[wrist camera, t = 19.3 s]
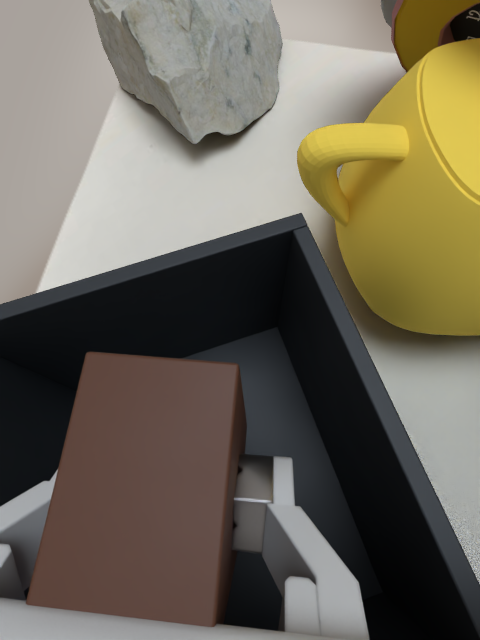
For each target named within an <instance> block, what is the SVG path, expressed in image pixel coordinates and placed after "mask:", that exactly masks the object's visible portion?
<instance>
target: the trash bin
mask: <svg viewBox="0 0 480 640" xmlns="http://www.w3.org/2000/svg"><path fill="white" fill-rule="evenodd" d="M87 352H101V353H114V354H127V355H139V356H152V357H165V358H178V359H191V360H203V361H216V362H229V363H237V364H239V367H240V375H241V382H242V390H243V397H244V405H245V412H246V420H247V433H246V446H245V454H253V455H265V456H280V457H291V458H292V462H293V480H294V499H295V506H300V507H301V508H302V509H303V511H304V512H305V513H306V514H307V516H308V517H309V518H310V520H311V521H312V522H313V524H314V525H315V526H316V527H317V529H318V530H319V531H320V533H321V534H322V535H323V537H324V538H325V539H326V540H327V542H328V543H329V544H330V546H331V547H332V548H333V550H334V551H335V552H336V553H337V555H338V556H339V557H340V559H341V560H342V561H343V563H344V564H345V565H346V567H347V568H348V569H349V570H350V572H351V573H352V574H353V576H354V577H355V578H356V580H357V581H358V582H359V586H360V592H361V597H362V602H363V607H364V613H365V618H366V623H367V628H368V634H369V639H370V640H480V584H479V582H478V580H477V578H476V576H475V574H474V572H473V570H472V568H471V566H470V564H469V562H468V559H467V557H466V555H465V553H464V551H463V549H462V547H461V545H460V543H459V541H458V539H457V536H456V534H455V532H454V530H453V528H452V526H451V524H450V522H449V520H448V518H447V516H446V514H445V511H444V509H443V507H442V505H441V503H440V501H439V499H438V497H437V495H436V493H435V491H434V488H433V486H432V484H431V482H430V480H429V478H428V476H427V474H426V472H425V470H424V468H423V465H422V463H421V461H420V459H419V457H418V455H417V453H416V451H415V449H414V447H413V445H412V443H411V440H410V438H409V436H408V434H407V432H406V430H405V428H404V426H403V424H402V422H401V420H400V417H399V415H398V413H397V411H396V409H395V407H394V405H393V403H392V401H391V399H390V397H389V395H388V392H387V390H386V388H385V386H384V384H383V382H382V380H381V378H380V376H379V374H378V372H377V369H376V367H375V365H374V363H373V361H372V359H371V357H370V355H369V353H368V351H367V349H366V346H365V344H364V342H363V340H362V338H361V336H360V334H359V332H358V330H357V328H356V326H355V324H354V321H353V319H352V317H351V315H350V313H349V311H348V309H347V307H346V305H345V303H344V301H343V298H342V296H341V294H340V292H339V290H338V288H337V286H336V284H335V282H334V280H333V278H332V275H331V273H330V271H329V269H328V267H327V265H326V263H325V261H324V259H323V257H322V255H321V253H320V250H319V248H318V246H317V244H316V242H315V240H314V238H313V236H312V234H311V232H310V230H309V228H308V226H307V223H306V221H305V219H304V217H303V215H302V213H299V214H296V215H293V216H289V217H286V218H283V219H279V220H276V221H273V222H270V223H266V224H263V225H260V226H256V227H253V228H250V229H247V230H243V231H240V232H237V233H233V234H230V235H227V236H224V237H220V238H217V239H214V240H210V241H207V242H204V243H201V244H197V245H194V246H191V247H187V248H184V249H181V250H178V251H174V252H171V253H168V254H164V255H161V256H158V257H155V258H151V259H148V260H145V261H141V262H138V263H135V264H131V265H128V266H125V267H122V268H118V269H115V270H112V271H108V272H105V273H102V274H99V275H95V276H92V277H89V278H85V279H82V280H79V281H76V282H72V283H69V284H66V285H62V286H59V287H56V288H53V289H49V290H46V291H43V292H39V293H36V294H33V295H30V296H26V297H23V298H20V299H17V300H13V301H10V302H7V303H3V304H0V506H2V505H4V504H5V503H7V502H9V501H11V500H12V499H14V498H16V497H17V496H19V495H21V494H23V493H24V492H26V491H28V490H29V489H31V488H33V487H34V486H36V485H38V484H40V483H41V482H43V481H50V480H51V478H52V477H53V475H54V474H55V472H56V471H57V470H58V467H59V463H60V459H61V455H62V451H63V447H64V442H65V438H66V434H67V430H68V426H69V422H70V418H71V413H72V409H73V405H74V401H75V397H76V393H77V389H78V384H79V380H80V376H81V372H82V368H83V364H84V360H85V355H86V353H87ZM29 588H30V586H29V587H28V588H27V589H26V590H25V591H24V594H25V598H26V600H27V596H28V592H29ZM282 598H283V597H282V595H281V593H280V591H279V589H278V587H277V585H276V583H275V581H274V579H273V577H272V575H271V573H270V571H269V569H268V567H267V565H266V563H265V561H264V559H263V557H262V554H257V553H250V552H242V551H237V557H236V562H235V567H234V572H233V577H232V582H231V587H230V593H229V598H228V603H227V608H226V613H225V618H224V623H223V625H232V626H240V627H248V628H257V629H265V630H274V631H278V627H279V619H280V612H281V605H282Z"/></svg>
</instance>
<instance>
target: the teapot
mask: <svg viewBox="0 0 480 640" xmlns="http://www.w3.org/2000/svg"><path fill="white" fill-rule="evenodd" d="M297 164H298V169H299V173H300V176H301V179H302V181H303V184H304V185H305V187H306V188H307V190H308V191H309V193H310V194H311V195H312V197H313V198H314V199H315V200H316V201H317V202H318V203H319V204H320V205H321V206H322V207H323V208H324V209H325V210H326V211H327V212H328V213H329V214H330V215H331V216H332V217H333V218H334V219H335V225H336V234H337V239H338V243H339V248H340V251H341V254H342V257H343V260H344V262H345V265H346V267H347V269H348V272H349V274H350V276H351V278H352V280H353V282H354V283H355V285H356V287H357V289H358V291H359V292H360V294H361V295H362V297H363V298H364V300H365V301H366V303H367V304H368V306H369V308H370V309H371V310H372V311H373V312H374V313H375V314H377V315H378V316H380V317H382V318H383V319H384V320H386V321H387V322H389V323H391V324H393V325H395V326H397V327H400V328H403V329H406V330H409V331H413V332H420V333H428V334H436V335H456V336H469V335H480V38H476V39H469V40H462V41H458V42H453V43H449V44H446V45H442V46H440V47H437V48H434V49H433V50H431V51H430V52H428V53H427V54H426V55H425V56H424V57H423V58H422V59H421V60H419V61H418V62H417V63H416V64H415V65H414V66H413V67H412V68H411V69H410V70H409V71H408V72H407V73H406V74H405V75H404V76H403V77H402V78H401V79H400V80H399V81H398V82H397V83H396V85H395V86H394V87H393V88H392V89H391V90H390V91H389V92H388V93H387V94H386V95H385V96H384V97H383V98H382V99H381V101H380V102H379V103H378V104H377V105H376V106H375V108H374V109H373V110H372V111H371V113H370V114H369V116H368V117H367V119H366V120H365V122H364V123H345V124H336V125H329V126H325V127H322V128H318V129H316V130H315V131H313V132H311V133H309V134H308V135H307V136H306V137H305V138H304V139H303V140H302V142H301V144H300V146H299V149H298V151H297ZM342 164H343V166H342V169H341V172H340V175H339V178H337V168H338V167H339V166H340V165H342Z"/></svg>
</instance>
